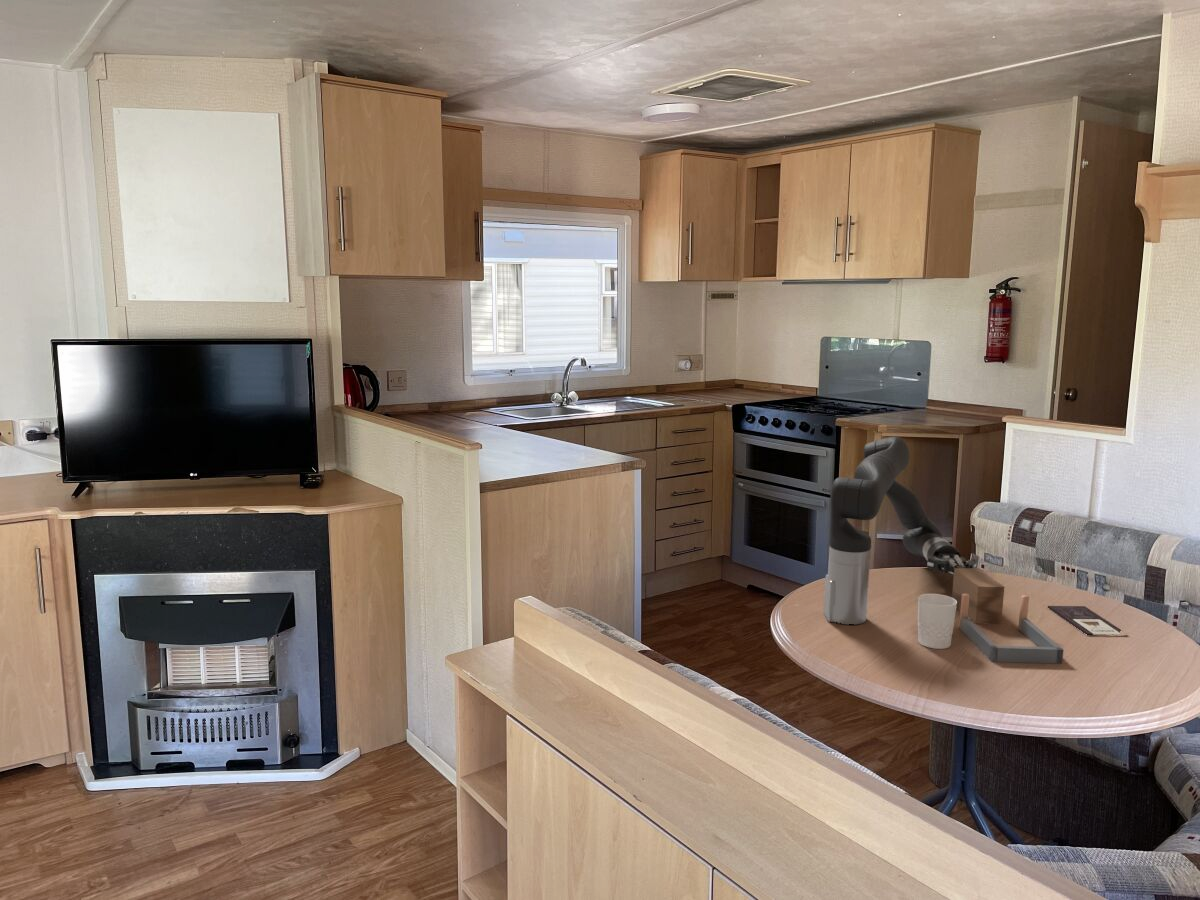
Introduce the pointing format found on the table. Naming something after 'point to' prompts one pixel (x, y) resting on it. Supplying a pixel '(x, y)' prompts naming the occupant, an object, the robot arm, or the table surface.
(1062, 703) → the table surface
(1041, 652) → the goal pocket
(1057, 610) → the chocolate bar
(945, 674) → the table surface
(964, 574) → the walnut block
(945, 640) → the white cup
